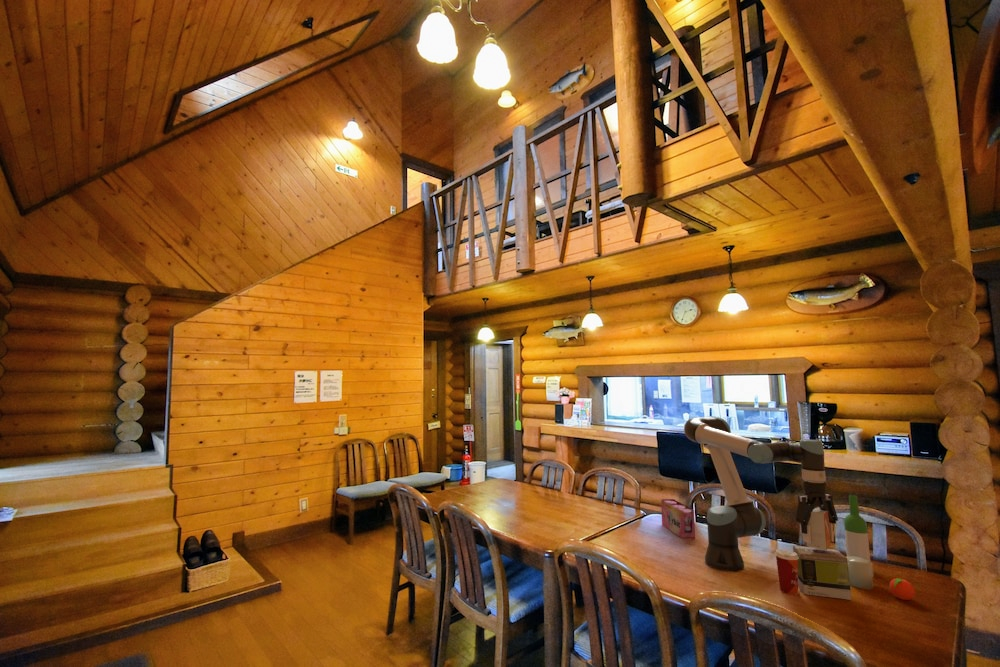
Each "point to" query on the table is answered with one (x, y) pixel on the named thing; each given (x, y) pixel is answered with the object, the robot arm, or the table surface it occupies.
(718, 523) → the robot arm
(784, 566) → the paper cup
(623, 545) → the table surface
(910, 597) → the strawberry
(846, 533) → the wine bottle
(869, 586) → the sage mug
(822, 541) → the small box
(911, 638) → the table surface
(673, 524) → the gum box
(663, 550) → the table surface
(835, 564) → the tea box
